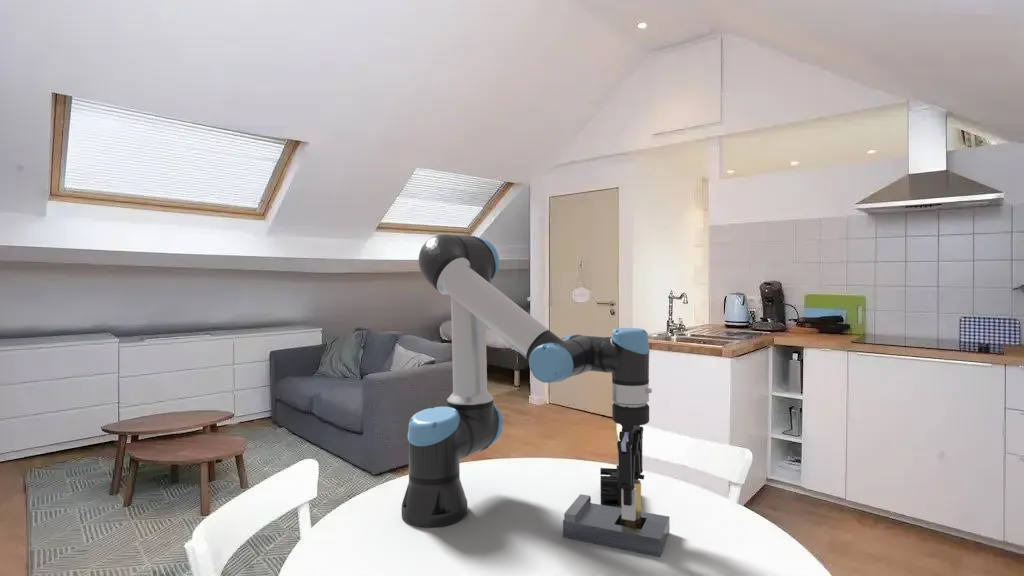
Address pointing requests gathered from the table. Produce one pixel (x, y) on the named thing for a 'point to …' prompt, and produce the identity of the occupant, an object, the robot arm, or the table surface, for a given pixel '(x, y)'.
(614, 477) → the end cap
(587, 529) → the jig
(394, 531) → the table surface
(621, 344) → the robot arm
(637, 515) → the brass cylinder rod
